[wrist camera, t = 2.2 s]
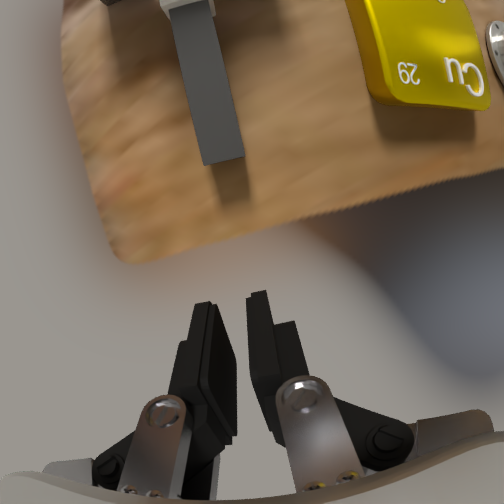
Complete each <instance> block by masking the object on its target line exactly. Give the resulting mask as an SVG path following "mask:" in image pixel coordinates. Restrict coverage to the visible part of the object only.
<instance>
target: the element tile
mask: <svg viewBox="0 0 504 504" xmlns="http://www.w3.org/2000/svg"><path fill="white" fill-rule="evenodd" d="M345 2H346V5H347V8H348V12H349V15H350V18H351V22H352V25H353V29H354V32H355V36H356V40H357V44H358V48H359V52H360V56H361V60H362V65H363V69H364V74H365V79H366V84H367V88H368V90H369V92H370V94H371V95H372V97H373V98H374V99H375V100H376V101H377V102H379V103H381V104H383V105H388V106H415V107H432V108H444V109H454V110H467V111H485V110H487V109H488V108H489V106H490V102H491V94H490V88H489V83H488V78H487V73H486V68H485V64H484V59H483V55H482V51H481V48H480V44H479V41H478V37H477V34H476V31H475V28H474V25H473V22H472V19H471V16H470V13H469V11H468V8H467V6H466V4H465V3H464V1H463V0H345Z"/></svg>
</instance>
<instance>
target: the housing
mask: <svg viewBox="0 0 504 504" xmlns="http://www.w3.org/2000/svg"><path fill="white" fill-rule="evenodd" d="M100 1H101V2H103V3H104V4H105V5H106V6H109V5H111V4H114V3H116V2H118V1H120V0H100Z"/></svg>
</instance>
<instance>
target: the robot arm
mask: <svg viewBox="0 0 504 504" xmlns="http://www.w3.org/2000/svg"><path fill="white" fill-rule="evenodd" d="M486 41H487V47H488V51H489V55H490V58H491V60H492V63H493V66H494V68H495V71H496V73H497V75H498V77H499V79H500V80H501V82H502V84H503V86H504V23H503V22H501V21H493V22H490V23H489V24H488V26H487V29H486ZM246 311H247V331H248V348H249V369H250V377H251V381H252V385H253V388H254V391H255V393H256V396H257V399H258V402H259V404H260V407H261V410H262V413H263V415H264V418H265V420H266V423H267V425H268V429H269V431H272V432H273V435H274V438H275V440H276V443H278V444H280V445H282V446H283V447H286V449H287V454H288V458H289V462H290V467H291V471H292V475H293V479H294V484H295V488H296V492H297V493H295V494H289V495H282V496H274V497H265V498H256V499H244V500H243V499H242V500H216V495H217V486H218V475H219V465H220V452H222V451H223V450H224V449H225V445H232V436H237V364H236V358H235V354H234V352H233V349H232V346H231V344H230V340H229V338H228V335H227V332H226V329H225V326H224V324H223V320H222V317H221V315H220V312H219V309H218V306H217V304H213V305H212V303H211V302H210V301H208V302H203V303H197V304H195V306H194V310H193V314H192V319H191V324H190V328H189V333H188V338H187V340H185V341H181V342H180V343H179V346H178V350H177V355H176V359H175V363H174V368H173V372H172V376H171V381H170V385H169V390H168V395H161V396H158V397H155V398H154V399H152V400H151V401H149V402H148V403H147V404H146V405H145V406H144V408H143V410H142V412H141V415H140V418H139V421H138V424H137V427H136V430H135V431H134V432H132V433H131V434H129V435H128V436H126V437H125V438H124V439H122V440H121V441H119V442H118V443H116V444H115V445H113V446H112V447H110V448H109V449H107V450H106V451H105V452H103V453H101V454H100V455H99V456H98V457H97V458H96V459H95V460H93V459H92V458H86V459H78V460H69V461H57V462H51V463H49V464H48V465H46V467H45V468H44V470H43V472H42V473H41V472H34V471H23V472H15V473H11V474H8V475H6V476H4V477H3V478H2V479H1V480H0V504H504V431H496V432H494V428H493V423H492V421H491V418H490V416H489V415H488V414H487V413H486V412H485V411H482V410H478V409H477V410H469V411H465V412H460V413H456V414H451V415H445V416H440V417H435V418H428V419H422V420H417V422H416V423H412V424H406V423H404V422H401V421H399V420H396V419H393V418H390V417H387V416H384V415H381V414H378V413H375V412H372V411H370V410H367V409H364V408H361V407H358V406H356V405H353V404H350V403H348V402H345V401H342V400H340V399H337V398H335V397H333V395H332V393H331V391H330V388H329V387H328V385H327V384H326V382H324V381H323V380H322V379H320V378H317V377H315V376H310V375H309V371H308V368H307V364H306V360H305V357H304V353H303V349H302V346H301V342H300V339H299V335H298V331H297V328H296V324H295V321H290V322H286V323H280V324H276V325H274V324H273V319H272V315H271V311H270V306H269V301H268V297H267V292H266V290H263V291H258V292H253V293H251V297H249V298H246Z"/></svg>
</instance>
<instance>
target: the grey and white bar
mask: <svg viewBox="0 0 504 504" xmlns="http://www.w3.org/2000/svg"><path fill="white" fill-rule="evenodd" d="M159 1H160V6H161V8H162V10H163V11H164V13H165V14H166V16H167V17H168V19H169V20H170V22H171V25H172V30H173V35H174V40H175V44H176V49H177V54H178V58H179V63H180V67H181V72H182V76H183V81H184V85H185V90H186V94H187V98H188V103H189V107H190V111H191V115H192V120H193V124H194V128H195V132H196V136H197V141H198V145H199V149H200V153H201V157H202V161H203V165H204V166H206V165H210V164H214V163H218V162H222V161H226V160H230V159H235V158H239V157H244V156H245V152H244V147H243V143H242V139H241V134H240V130H239V125H238V121H237V117H236V112H235V108H234V104H233V100H232V95H231V91H230V87H229V83H228V78H227V74H226V70H225V66H224V62H223V58H222V54H221V49H220V45H219V41H218V37H217V33H216V29H215V25H214V21H213V17H214V16H216V11H215V6H214V1H213V0H159Z"/></svg>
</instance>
